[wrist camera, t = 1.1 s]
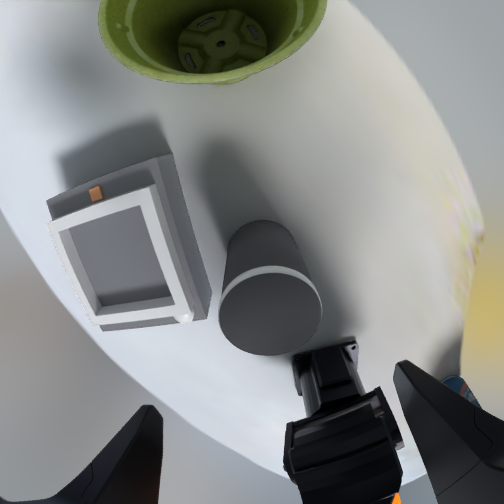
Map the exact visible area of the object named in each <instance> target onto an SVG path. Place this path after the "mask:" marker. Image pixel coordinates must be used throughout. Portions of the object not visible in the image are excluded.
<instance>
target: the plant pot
mask: <svg viewBox="0 0 504 504" xmlns="http://www.w3.org/2000/svg"><path fill="white" fill-rule="evenodd" d="M326 7H327V0H101V3H100V6H99V13H98V25H99V31H100V35H101V38H102V40H103V42H104V44H105V46H106V48H107V49H108V50H109V52H110V53H111V55H113V57H114V58H115V59H116V60H118V61H119V62H120V63H122V64H123V65H124V66H126V67H127V68H129V69H131V70H133V71H135V72H137V73H139V74H141V75H144V76H147V77H150V78H153V79H157V80H161V81H166V82H172V83H182V84H206V83H207V84H214V85H224V84H230V83H235V82H238V81H241V80H243V79H245V78H247V77H249V76H250V75H252V74H254V73H257V72H259V71H262V70H264V69H266V68H269V67H271V66H273V65H275V64H277V63H279V62H281V61H282V60H284V59H286V58H287V57H289V56H290V55H292V54H293V53H294V52H296V51H297V50H298V49H299V48H301V47H302V46H303V45H304V44H305V43H306V42H307V41H308V40H309V39H310V38H311V37H312V35H313V34H314V33H315V31H316V30H317V28H318V27H319V25H320V23H321V21H322V19H323V17H324V14H325V11H326ZM209 18H215V19H216V20H214V21H212V22H208V23H206V24H204V25H202V26H200V27H198V24H199V23H200V22H202V21H204V20H206V19H209ZM247 25H251V26H253V27H254V28H255V30H256V32H257V33H258V37H259V38H258V40H255V39H254V37H253V35H252V33H251V31H250V30H249V29H248V28H247ZM219 41H224V42H225V45H224V46H222V47H219V46H218V45H217V43H218V42H219ZM186 53H189V54H190V56H191V58H192V61H193V62H194V63H195V65H196V68H193V67H192V66H191V65H189V64H188V62H187V60H186V58H185V55H186ZM243 66H245V67H243Z"/></svg>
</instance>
